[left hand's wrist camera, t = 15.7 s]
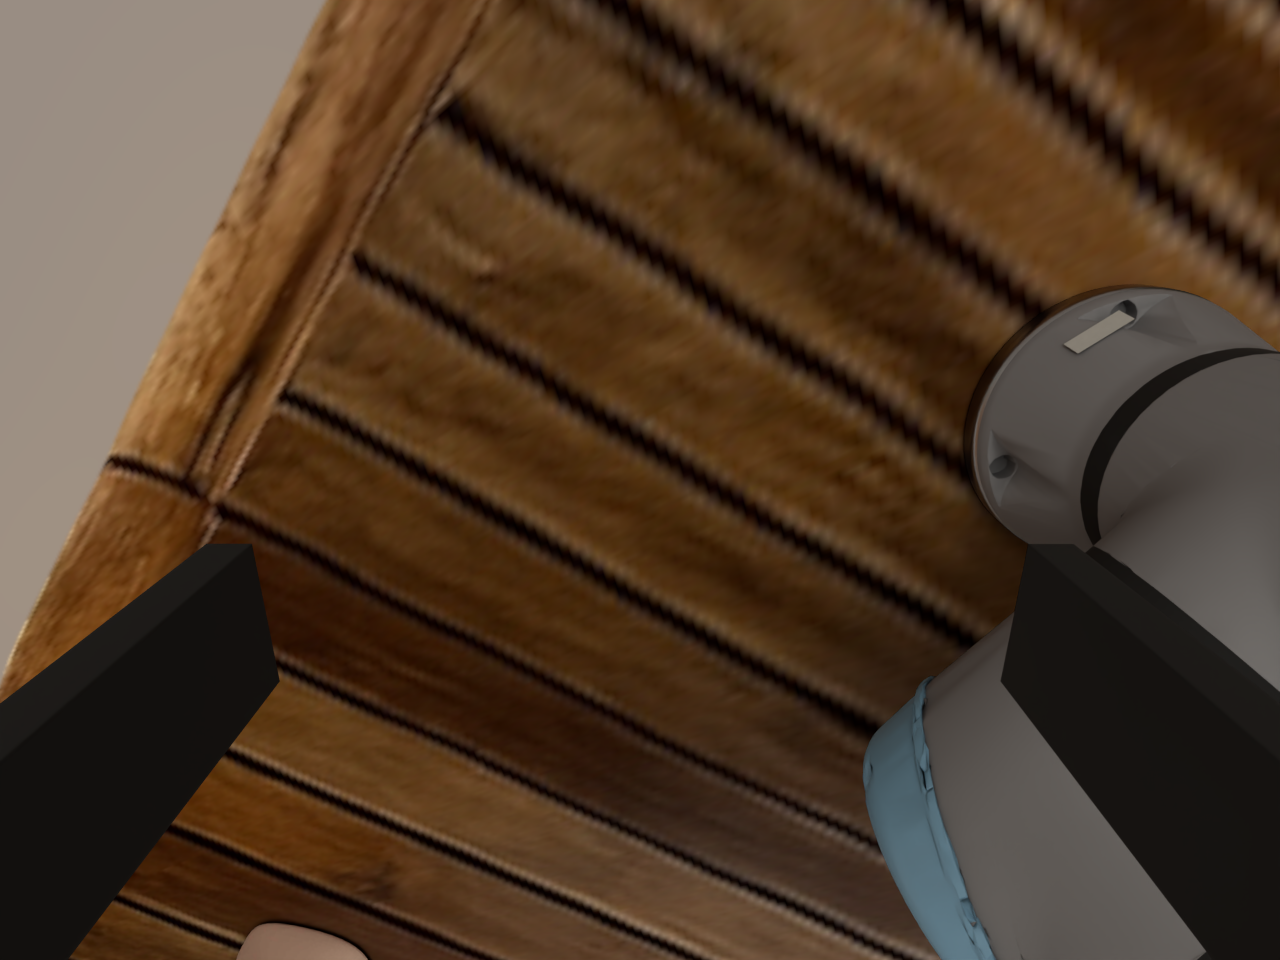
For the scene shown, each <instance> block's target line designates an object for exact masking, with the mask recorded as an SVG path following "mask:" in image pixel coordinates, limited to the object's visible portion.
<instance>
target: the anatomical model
mask: <svg viewBox="0 0 1280 960" xmlns="http://www.w3.org/2000/svg"><path fill="white" fill-rule="evenodd" d="M236 960H368V959H367V958H366V956H365V955H364V954H363V953H362V952H361V951H360V950H359V949H358V948H356V947H355V946H353V945H352V944H350V943H349V942H347V941H345V940H343V939H340V938H338V937H335V936H333V935H330V934H327V933H324V932H321V931H317V930H313V929H309V928H304V927H300V926H295V925H288V924H281V923H267V924H262V925H259V926H257V927H256V928H254V929H253V930H252V931H251V933H250V934H249V935H248V937H247V938H246V940H245V942H244V944H243V946H242V947H241V949H240V951H239V953H238V956H237V959H236Z"/></svg>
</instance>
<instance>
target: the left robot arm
mask: <svg viewBox="0 0 1280 960" xmlns="http://www.w3.org/2000/svg"><path fill="white" fill-rule="evenodd" d="M964 452H965V461H966V467H967V471H968V474H969V478H970V481H971V483H972V485H973V488H974V490H975V492H976V494H977V495H978V497H979V499H980V501H981V502H982V503H983V505H984V506H985V507H986V509H987V510H988V511H989V512H990V513H991V514H992V515H993V516H994V517H995V518H996V519H997V520H998V521H999V522H1000V523H1002V524H1003V525H1004V526H1005V527H1006V528H1007V529H1009V530H1010V531H1011V532H1012V533H1013V534H1014V535H1016V536H1017V537H1019V538H1020V539H1022V540H1023V541H1025V542H1027V543H1029V544H1028V548H1027V553H1026V557H1025V562H1024V567H1023V572H1022V577H1021V582H1020V587H1019V592H1018V597H1017V602H1016V607H1015V611H1014V612H1013V613H1012V614H1011V615H1010V616H1008V617H1007V618H1006V619H1005V620H1004V621H1002V622H1001V623H1000V624H999V625H998V626H996V627H995V628H994V629H993V630H992V631H990V632H989V633H988V634H987V635H986V636H984V637H983V638H982V639H981V640H980V641H978V642H977V643H976V644H975V645H974V646H972V647H971V648H970V649H969V650H968V651H966V652H965V653H964V654H963V655H962V656H960V657H959V658H958V659H957V660H956V661H954V662H953V663H952V664H951V665H950V666H948V667H947V668H946V669H945V670H943V671H942V672H941V673H940V674H939V675H937V676H936V677H934V676H929V677H928V678H926V679H925V680H923V681H922V682H921V683H920V685H919V686H918V688H917V690H916V693H915V696H914V697H913V698H911V699H910V700H909V701H908V702H907V703H906V704H905V705H904V706H903V707H902V708H901V709H900V710H899V711H897V712H896V713H895V714H894V715H893V716H892V717H891V718H890V719H889V720H888V721H887V722H886V723H885V724H883V725H882V726H881V727H880V728H879V729H878V730H877V731H876V733H875V734H874V735H873V737H872V739H871V740H870V742H869V745H868V747H867V749H866V753H865V756H864V763H863V782H864V787H865V792H866V794H865V796H866V805H867V809H868V813H869V817H870V820H871V824H872V827H873V830H874V833H875V836H876V839H877V841H878V844H879V847H880V849H881V852H882V854H883V856H884V859H885V861H886V863H887V866H888V868H889V870H890V872H891V874H892V877H893V879H894V881H895V883H896V885H897V887H898V889H899V891H900V893H901V894H902V896H903V898H904V900H905V902H906V904H907V906H908V907H909V909H910V911H911V913H912V914H913V916H914V918H915V920H916V921H917V923H918V925H919V926H920V928H921V930H922V931H923V933H924V934H925V936H926V938H927V939H928V941H929V942H930V944H931V945H932V947H933V948H934V950H935V951H936V953H937V954H938V955H939V957H940V958H941V959H942V960H1280V352H1278V351H1277V350H1276V349H1274V348H1273V347H1272V346H1271V345H1269V344H1268V343H1267V342H1266V341H1264V340H1263V339H1262V338H1261V337H1259V336H1258V335H1257V334H1255V333H1254V332H1253V331H1252V330H1250V329H1249V328H1248V327H1247V326H1245V325H1244V324H1243V323H1242V322H1240V321H1239V320H1238V319H1237V318H1235V317H1234V316H1233V315H1231V314H1230V313H1229V312H1227V311H1226V310H1224V309H1223V308H1221V307H1220V306H1218V305H1216V304H1214V303H1212V302H1210V301H1208V300H1206V299H1204V298H1202V297H1200V296H1197V295H1194V294H1191V293H1188V292H1185V291H1180V290H1175V289H1169V288H1163V287H1156V286H1149V285H1117V286H1108V287H1104V288H1099V289H1094V290H1091V291H1088V292H1084V293H1081V294H1078V295H1076V296H1073V297H1071V298H1069V299H1066V300H1064V301H1062V302H1060V303H1058V304H1056V305H1054V306H1052V307H1051V308H1049V309H1047V310H1046V311H1044V312H1043V313H1041V314H1039V315H1038V316H1037V317H1035V318H1034V319H1033V320H1031V321H1030V322H1028V323H1027V324H1026V325H1025V326H1024V327H1022V328H1021V329H1020V330H1019V331H1018V332H1017V333H1016V334H1015V335H1014V336H1013V337H1012V338H1011V339H1010V340H1009V341H1008V342H1007V343H1006V344H1005V345H1004V346H1003V347H1002V349H1001V350H1000V351H999V352H998V354H997V355H996V356H995V357H994V359H993V360H992V362H991V363H990V365H989V366H988V368H987V369H986V371H985V373H984V375H983V376H982V378H981V380H980V382H979V384H978V386H977V388H976V391H975V393H974V395H973V398H972V401H971V404H970V407H969V411H968V415H967V419H966V426H965V434H964ZM278 683H279V676H278V671H277V666H276V661H275V656H274V651H273V646H272V641H271V636H270V631H269V626H268V622H267V617H266V612H265V607H264V602H263V597H262V592H261V587H260V582H259V577H258V572H257V567H256V562H255V557H254V553H253V548H252V544H206V545H204V546H203V547H202V548H201V549H199V550H198V551H197V552H195V553H194V554H193V555H191V556H190V557H189V558H188V559H186V560H185V561H184V562H182V563H181V564H180V565H179V566H177V567H176V568H175V569H173V570H172V571H171V572H170V573H168V574H167V575H166V576H164V577H163V578H162V579H160V580H159V581H158V582H157V583H155V584H154V585H153V586H151V587H150V588H149V589H148V590H146V591H145V592H144V593H142V594H141V595H140V596H139V597H137V598H136V599H135V600H133V601H132V602H131V603H129V604H128V605H127V606H126V607H124V608H123V609H122V610H120V611H119V612H118V613H117V614H115V615H114V616H113V617H111V618H110V619H109V620H108V621H106V622H105V623H104V624H102V625H101V626H100V627H98V628H97V629H96V630H95V631H93V632H92V633H91V634H89V635H88V636H87V637H86V638H84V639H83V640H82V641H80V642H79V643H78V644H77V645H75V646H74V647H73V648H71V649H70V650H69V651H67V652H66V653H65V654H64V655H62V656H61V657H60V658H58V659H57V660H56V661H55V662H53V663H52V664H51V665H49V666H48V667H47V668H46V669H44V670H43V671H42V672H40V673H39V674H38V675H36V676H35V677H34V678H33V679H31V680H30V681H29V682H27V683H26V684H25V685H24V686H22V687H21V688H20V689H18V690H17V691H16V692H15V693H13V694H12V695H11V696H9V697H8V698H7V699H6V700H4V701H3V702H2V703H0V960H68V958H69V957H70V956H71V954H72V953H73V952H74V951H75V949H76V948H77V947H78V945H79V944H80V943H81V941H82V940H83V939H84V937H85V936H86V935H87V933H88V932H89V931H90V930H91V928H92V927H93V926H94V924H95V923H96V922H97V920H98V919H99V918H100V916H101V915H102V914H103V912H104V911H105V910H106V909H107V907H108V906H109V905H110V903H111V902H112V901H113V899H114V898H115V897H116V895H117V894H118V893H119V891H120V890H121V889H122V888H123V886H124V885H125V884H126V882H127V881H128V880H129V878H130V877H131V876H132V874H133V873H134V872H135V870H136V869H137V868H138V867H139V865H140V864H141V863H142V861H143V860H144V859H145V857H146V856H147V855H148V853H149V852H150V851H151V849H152V848H153V847H154V846H155V844H156V843H157V842H158V840H159V839H160V838H161V836H162V835H163V834H164V832H165V831H166V830H167V828H168V827H169V826H170V825H171V823H172V822H173V821H174V819H175V818H176V817H177V815H178V814H179V813H180V811H181V810H182V809H183V807H184V806H185V805H186V804H187V802H188V801H189V800H190V798H191V797H192V796H193V794H194V793H195V792H196V790H197V789H198V788H199V786H200V785H201V784H202V783H203V781H204V780H205V779H206V777H207V776H208V775H209V773H210V772H211V771H212V769H213V768H214V767H215V765H216V764H217V763H218V762H219V760H220V759H221V758H222V756H223V755H224V754H225V752H226V751H227V750H228V748H229V747H230V746H231V744H232V743H233V742H234V741H235V739H236V738H237V737H238V735H239V734H240V733H241V731H242V730H243V729H244V727H245V726H246V725H247V723H248V722H249V721H250V720H251V718H252V717H253V716H254V714H255V713H256V712H257V710H258V709H259V708H260V706H261V705H262V704H263V702H264V701H265V700H266V699H267V697H268V696H269V695H270V693H271V692H272V691H273V689H274V688H275V687H276V685H277V684H278Z"/></svg>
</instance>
